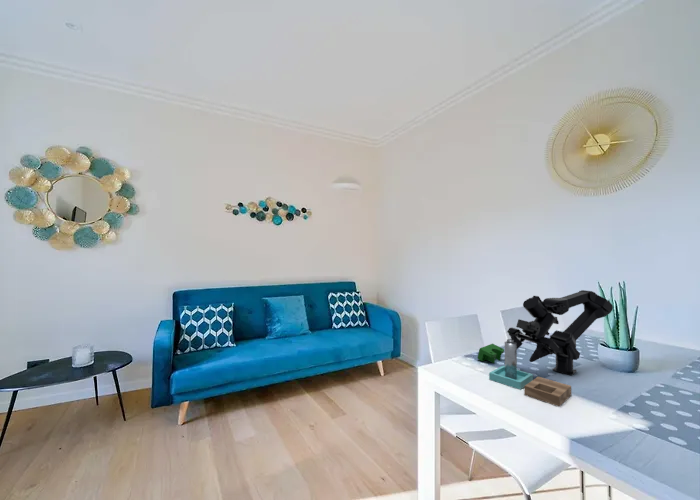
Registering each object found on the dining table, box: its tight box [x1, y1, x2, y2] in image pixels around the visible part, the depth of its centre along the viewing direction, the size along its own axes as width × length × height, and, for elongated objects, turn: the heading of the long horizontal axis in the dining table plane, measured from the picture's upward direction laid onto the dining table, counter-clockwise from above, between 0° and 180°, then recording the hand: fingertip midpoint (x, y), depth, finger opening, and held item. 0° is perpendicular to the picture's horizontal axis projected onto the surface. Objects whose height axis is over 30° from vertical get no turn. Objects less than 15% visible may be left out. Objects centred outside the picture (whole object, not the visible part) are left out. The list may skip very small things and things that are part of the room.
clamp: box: [477, 343, 505, 364], centre depth 133 cm, size 12×6×9 cm, turn 120°
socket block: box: [523, 376, 572, 407], centre depth 101 cm, size 12×10×3 cm
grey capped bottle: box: [504, 338, 518, 380], centre depth 112 cm, size 4×4×14 cm
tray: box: [488, 365, 534, 391], centre depth 112 cm, size 11×11×2 cm
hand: (519, 357), depth 114 cm, fingers open, 9 cm apart
